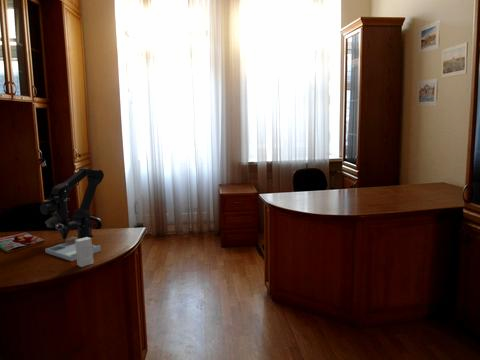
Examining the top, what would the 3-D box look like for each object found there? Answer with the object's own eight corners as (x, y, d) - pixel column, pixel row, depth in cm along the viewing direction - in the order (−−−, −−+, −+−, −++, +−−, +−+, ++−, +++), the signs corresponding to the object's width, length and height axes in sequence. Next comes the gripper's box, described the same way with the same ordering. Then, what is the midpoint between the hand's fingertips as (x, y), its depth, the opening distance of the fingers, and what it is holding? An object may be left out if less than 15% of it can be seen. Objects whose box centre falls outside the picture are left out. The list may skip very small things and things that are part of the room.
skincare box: (89, 261, 185) (87, 236, 183) (93, 263, 182) (91, 238, 180) (76, 265, 181) (74, 239, 179) (80, 267, 178) (78, 241, 176)
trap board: (74, 243, 211) (74, 238, 210) (100, 251, 199) (100, 245, 198) (45, 252, 198) (44, 246, 197) (71, 261, 186) (71, 255, 185)
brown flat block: (73, 241, 209) (73, 236, 208) (78, 242, 206) (78, 237, 206) (65, 243, 205) (65, 238, 205) (70, 244, 203) (70, 240, 202)
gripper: (36, 211, 206) (39, 240, 208) (57, 216, 195) (60, 246, 198) (56, 207, 215) (59, 235, 217) (77, 211, 204) (80, 240, 207)
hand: (64, 239), depth 210 cm, fingers closed
